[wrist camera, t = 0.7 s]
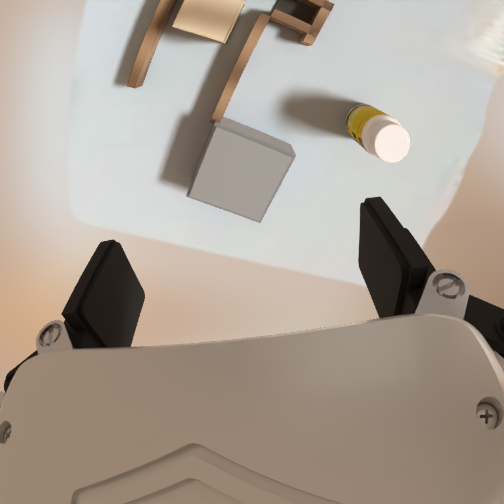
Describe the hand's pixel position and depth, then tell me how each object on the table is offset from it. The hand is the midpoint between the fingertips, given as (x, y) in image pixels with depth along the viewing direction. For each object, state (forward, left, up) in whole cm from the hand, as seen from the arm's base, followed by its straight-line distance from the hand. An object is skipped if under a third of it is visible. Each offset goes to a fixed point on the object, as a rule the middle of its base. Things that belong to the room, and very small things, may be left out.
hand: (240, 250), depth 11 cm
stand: (+6, +2, -26) cm, 26 cm away
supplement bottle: (-5, +13, -26) cm, 29 cm away
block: (-9, -8, -26) cm, 28 cm away
